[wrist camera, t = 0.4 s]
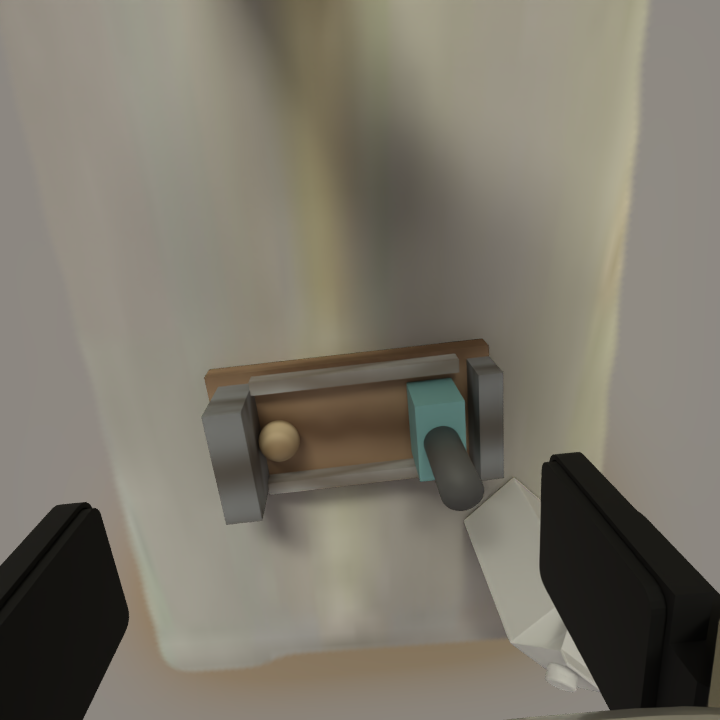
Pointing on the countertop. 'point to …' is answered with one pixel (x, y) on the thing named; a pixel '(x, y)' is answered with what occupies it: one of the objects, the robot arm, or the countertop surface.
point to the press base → (339, 420)
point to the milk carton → (524, 584)
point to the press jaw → (442, 442)
